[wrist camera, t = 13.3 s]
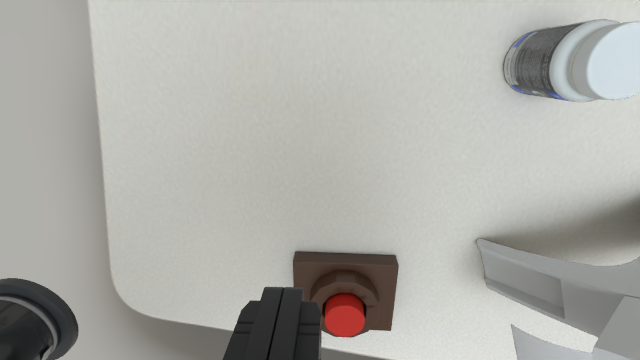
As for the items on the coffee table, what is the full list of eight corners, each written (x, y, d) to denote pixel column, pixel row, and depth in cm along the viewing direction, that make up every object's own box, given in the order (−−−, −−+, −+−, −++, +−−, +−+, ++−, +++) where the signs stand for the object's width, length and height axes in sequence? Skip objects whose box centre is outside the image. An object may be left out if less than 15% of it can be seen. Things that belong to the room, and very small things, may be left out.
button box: (296, 314, 34) (292, 340, 31) (295, 251, 32) (290, 273, 28) (388, 318, 34) (394, 345, 31) (395, 255, 31) (402, 277, 28)
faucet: (783, 263, 24) (751, 506, 15) (541, 222, 38) (445, 336, 28) (794, 191, 22) (765, 419, 13) (535, 175, 36) (429, 281, 26)
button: (325, 321, 31) (324, 336, 29) (325, 291, 29) (324, 304, 28) (362, 323, 31) (363, 338, 29) (364, 293, 29) (366, 306, 28)
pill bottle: (504, 101, 26) (579, 117, 18) (499, 40, 24) (578, 29, 16) (567, 84, 25) (672, 94, 17) (565, 21, 24) (681, -1, 16)
